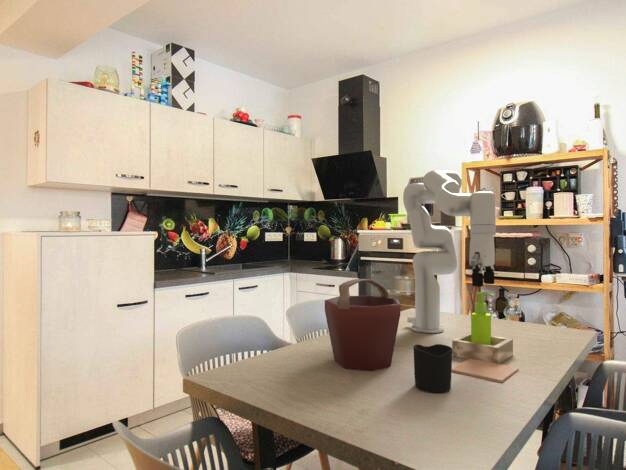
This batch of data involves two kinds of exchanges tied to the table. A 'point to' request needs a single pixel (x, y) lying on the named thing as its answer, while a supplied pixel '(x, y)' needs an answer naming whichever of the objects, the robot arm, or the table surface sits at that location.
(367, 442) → the table surface
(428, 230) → the robot arm
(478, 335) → the soap dispenser
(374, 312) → the bucket
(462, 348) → the open box
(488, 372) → the plate
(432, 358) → the pen holder
